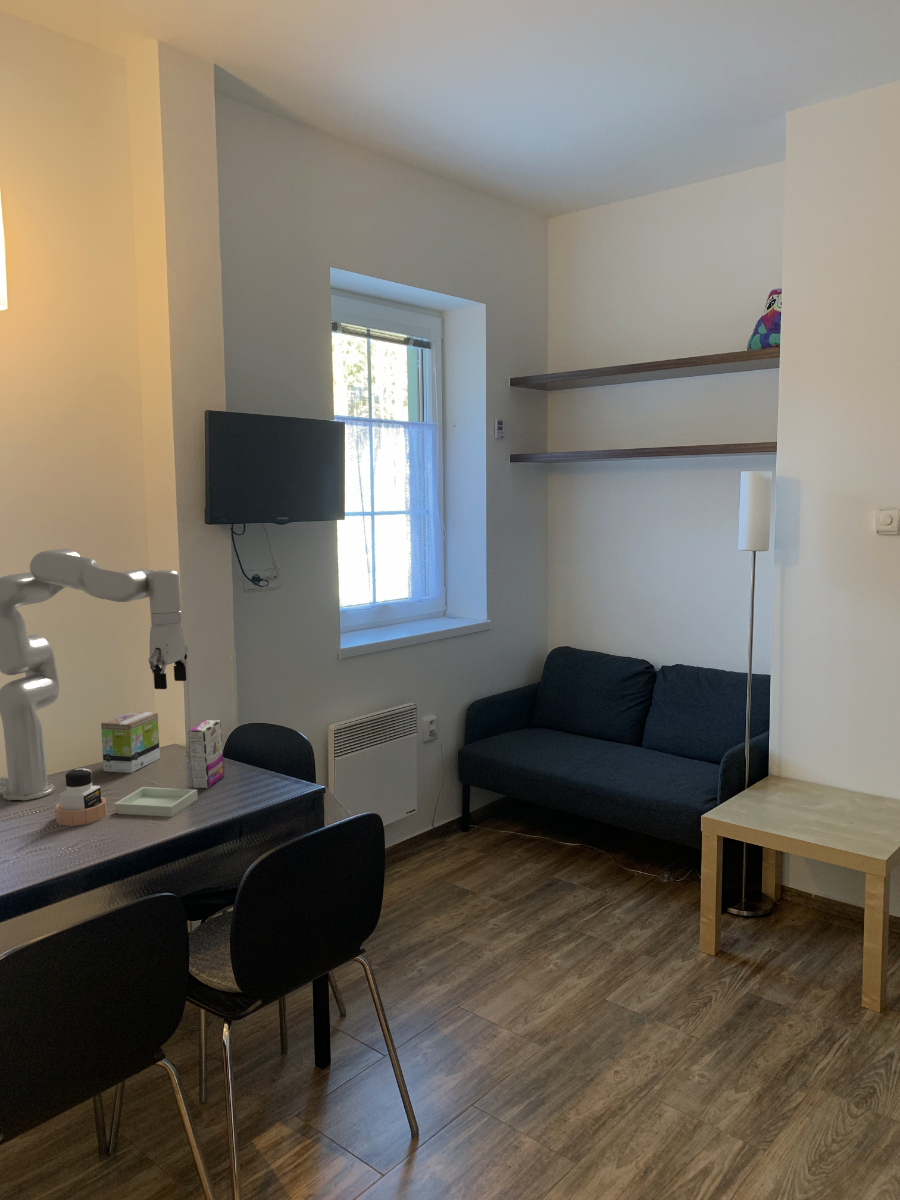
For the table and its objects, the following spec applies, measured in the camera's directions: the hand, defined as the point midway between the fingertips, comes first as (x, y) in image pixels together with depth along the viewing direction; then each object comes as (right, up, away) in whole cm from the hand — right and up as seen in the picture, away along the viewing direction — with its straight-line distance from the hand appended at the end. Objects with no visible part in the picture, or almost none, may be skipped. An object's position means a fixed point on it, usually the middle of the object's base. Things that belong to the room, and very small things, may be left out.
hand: (170, 684), depth 232 cm
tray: (-4, -31, +1) cm, 32 cm away
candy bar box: (+5, -29, +19) cm, 35 cm away
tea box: (-23, -28, +38) cm, 52 cm away
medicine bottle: (-21, -33, -6) cm, 39 cm away
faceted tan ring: (-21, -33, -6) cm, 39 cm away
